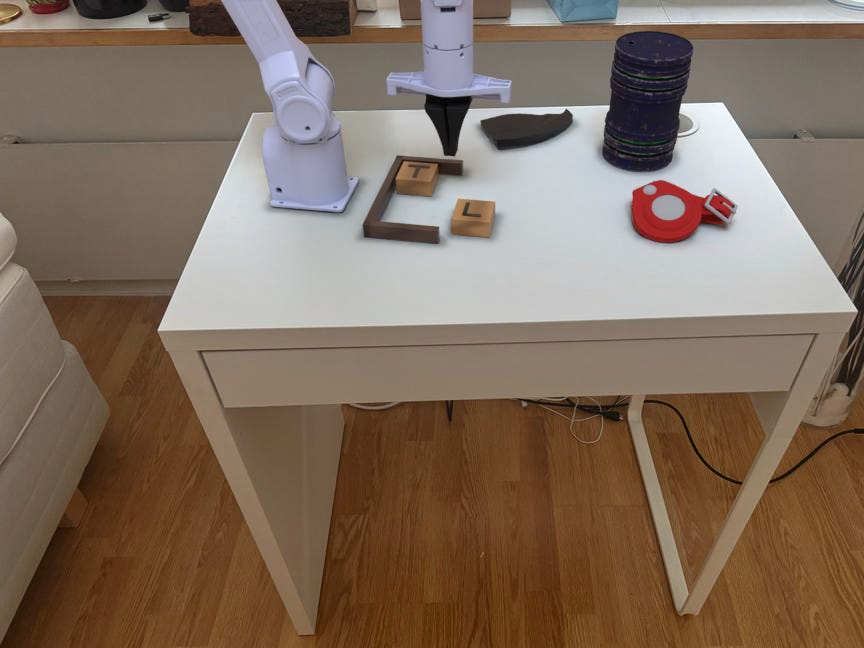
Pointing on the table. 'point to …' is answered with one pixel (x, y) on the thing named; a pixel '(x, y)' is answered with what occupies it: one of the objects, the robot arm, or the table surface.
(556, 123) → the dark sector wedge
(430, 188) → the t tile
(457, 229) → the l tile
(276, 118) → the robot arm
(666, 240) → the tracker holder
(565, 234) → the table surface
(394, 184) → the frame
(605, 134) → the dark blue barrel
